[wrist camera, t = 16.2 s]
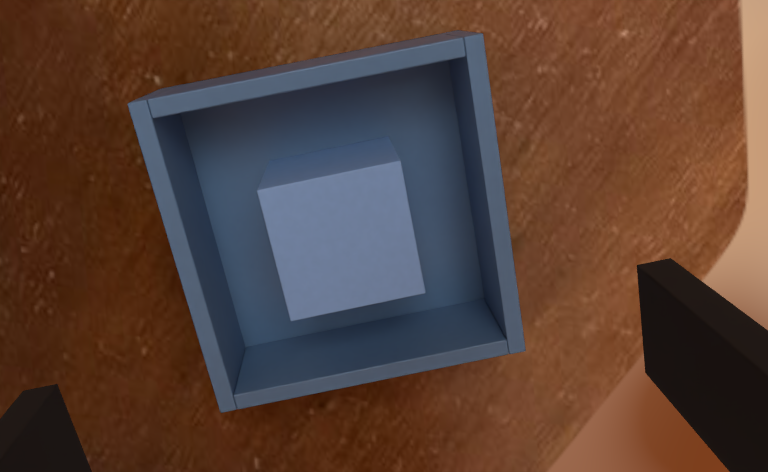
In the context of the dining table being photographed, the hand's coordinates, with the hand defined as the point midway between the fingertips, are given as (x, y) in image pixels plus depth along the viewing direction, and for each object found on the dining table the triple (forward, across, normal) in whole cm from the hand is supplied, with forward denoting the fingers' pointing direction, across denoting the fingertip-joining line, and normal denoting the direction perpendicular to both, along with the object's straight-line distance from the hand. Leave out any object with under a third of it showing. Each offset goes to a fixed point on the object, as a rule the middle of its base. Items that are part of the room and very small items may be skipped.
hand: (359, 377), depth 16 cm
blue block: (+20, -1, -2) cm, 20 cm away
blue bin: (+20, -1, -2) cm, 21 cm away
